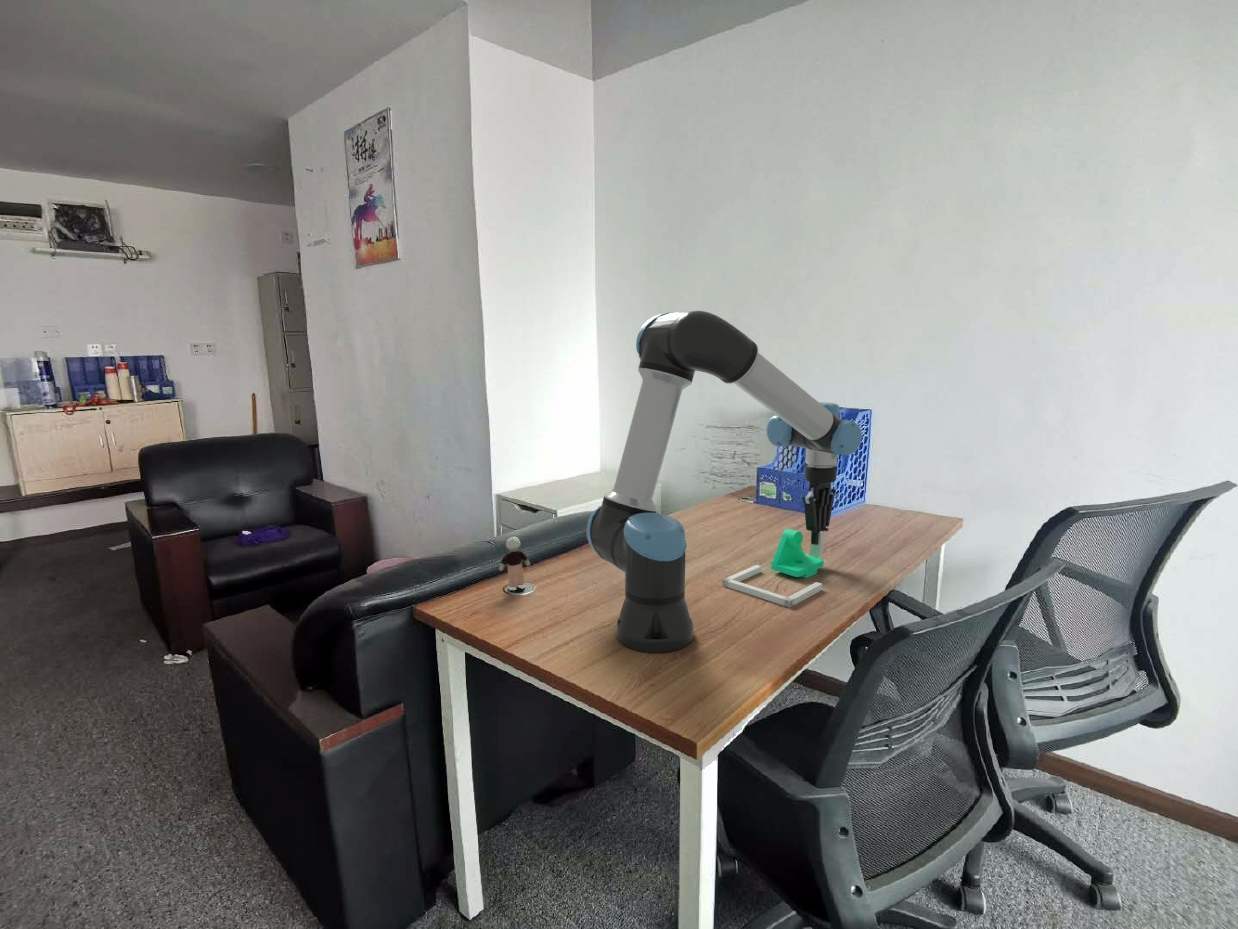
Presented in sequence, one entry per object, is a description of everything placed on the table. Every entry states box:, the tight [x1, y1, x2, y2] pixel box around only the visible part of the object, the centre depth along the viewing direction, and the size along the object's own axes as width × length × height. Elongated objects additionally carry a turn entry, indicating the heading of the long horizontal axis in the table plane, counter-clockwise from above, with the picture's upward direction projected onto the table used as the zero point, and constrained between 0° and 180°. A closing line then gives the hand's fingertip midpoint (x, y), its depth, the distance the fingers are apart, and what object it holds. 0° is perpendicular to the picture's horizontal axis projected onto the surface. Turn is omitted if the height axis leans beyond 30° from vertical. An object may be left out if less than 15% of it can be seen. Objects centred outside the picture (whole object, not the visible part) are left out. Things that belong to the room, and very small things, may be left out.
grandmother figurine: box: [498, 536, 531, 588], centre depth 147 cm, size 8×4×13 cm, turn 134°
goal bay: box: [721, 564, 823, 609], centre depth 147 cm, size 14×18×2 cm
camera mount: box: [770, 528, 825, 579], centre depth 156 cm, size 12×8×10 cm, turn 131°
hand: (816, 555), depth 160 cm, fingers closed
